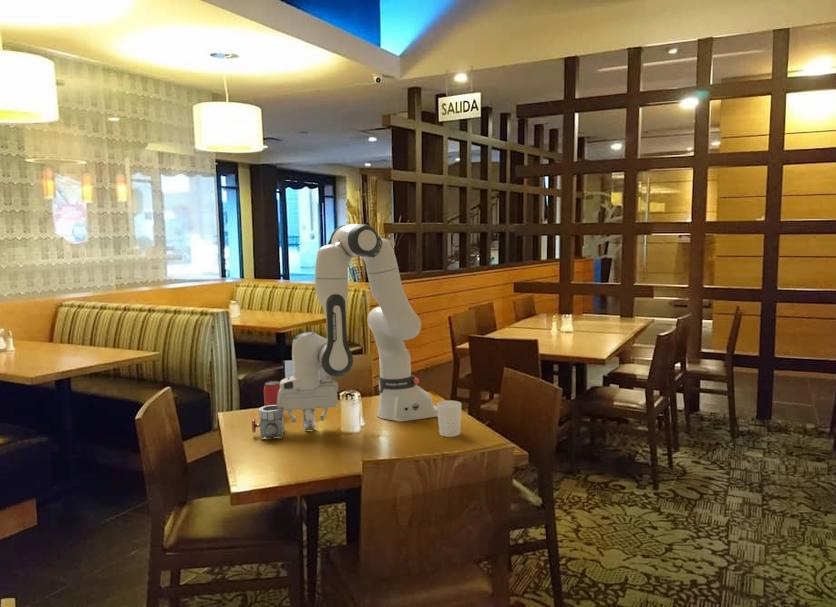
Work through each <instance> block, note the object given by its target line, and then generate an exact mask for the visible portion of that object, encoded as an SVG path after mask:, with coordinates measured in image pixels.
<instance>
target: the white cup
mask: <svg viewBox="0 0 836 607" xmlns="http://www.w3.org/2000/svg"><path fill="white" fill-rule="evenodd" d="M436 407H437V413H438V416H437V422H438V423H437V425H438V430H439V435H440V436H441V437H444V436H445V438H447V437H448V438H454V437H458V436H460V435H461V427H462V402H460V401H458V400H441V401H439V402H437V403H436Z"/></svg>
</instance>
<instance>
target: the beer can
mask: <svg viewBox="0 0 836 607" xmlns="http://www.w3.org/2000/svg"><path fill="white" fill-rule="evenodd" d="M280 382H281V381H278V380H270V381H267V382H265V383H264V386H263V401H264V402H263V403H264V406H268V405H277V397H278V392H279V389H280Z"/></svg>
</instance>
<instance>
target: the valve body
mask: <svg viewBox="0 0 836 607" xmlns="http://www.w3.org/2000/svg"><path fill="white" fill-rule="evenodd" d="M258 418H259V420H260V421H259V423H257V422H256V418H252V419H251V429H252V430H251V431H252V433H256V432H257V428H259V429H260V430H259V432H260V439H261V438H264V437H266V438H274V437H283V438H284V435H283V432H285V420H284V419H285V410H284V409H283V408H279V409H277V405H268V406H265V405H264V406H261V407H259V409H258Z"/></svg>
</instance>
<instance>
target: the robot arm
mask: <svg viewBox="0 0 836 607" xmlns="http://www.w3.org/2000/svg"><path fill="white" fill-rule="evenodd" d="M356 257H361V259H362V260H363V262H364V263H365V264H364V265H365V270H366V273H367V278H368V284H369V289H370V294H371V296H372V297H373V298H374V299H375V301H376V302H377V304H378V306H377V307H374V308H373V309H371V310H370V311H369V313H368V315H367V320H366V321H367V325H368V327H369V329H370V331H371V333H372V334H373V338H374V342H375V345H376V348H377V353H378V357H379V360H378V361H379V362H378V364H379V377H378V391H379V401H378V402H379V404H378V409H377V414H376V415H377V417H378V418H381V419H383V420H389V421H395V422H399V423H401V422H409V421H414V420H422V419H429V418H436V417H437V418H438V413H437V405H435V404H434V402H433V398H432V396H431V394H429V392H427V391H426V390H425V389H424V388H422V387H420V386H419V385H418V384H419V383H420V379H419V378H418V377H416V376H415V375H413V374H412V372H411V369H412V368H411V354H410V352H409V349H407V347H406V344H405V342H404V341H407V340H412V339H414V338H417V336H418V335H419V333H420V332H421V330H422V329H421V328H422V321H421V318H420V316H419V315H418V314H417V313H416V312H415V310H414V309H413V308H412V306H411V304H410V301H409V299H408V297H407V295H406V293H405V290H404V287H403V284H402V279H401V274H400V270H399V265H398V262H397V261H398V260H397V257H396V254H395V251H394V248H393V246H392V244H391V242H390V241H389V240H388V239H386V238H383V237H380V235H379V234H378V232H377V231H376V229H375V228H374V227H372V226H370V225H369V224H366V223H349V224H344V225H341V226H338V227H337V228H335V229H334V230H333V231H332V233H331V235H330V237H329V240H328V242H327V244H326V245H325V244H324V245H323V246H321V247H320V248H319V249H318V250H317V253H316V259H315V265H314V267H315V268H314V287H315V293H316V297H317V300H318V302H319V303H320V305H321V307H322V310H323V311H324V314H325V319H326V337H324V336H322V335H319V334H318V333H316V332H314V331H306V332H303V333H302V332H301V333H299V334H297V335H296V336H295V337H294V338H293V340H292V344H291V346H292V348H291V358H292V363H293V370H292V375H291V376H288V377H286V378H283V379H281V380H280V381H279V382H280V389H279V392H278V397H277V409H279V408H283V409H284V411H287V413H288V414H287V415H289V417H290V418H291V423H292V424H294V423H297V416H296V415H294V414H293V411H298V410H302V409H313V408H314V409H323V410H322V411H323V412H322V414H321V413H320V415H319V416H320V417H319V421H320V422H323V421H324V422H325V418H326V417H325V416H326V414H327V413H328V410H329V409H328V408H336V407H337V406H338V405H339V401H338V400H339V399H338V394H337V392H338V391H339V383H338V382H337V380H335V379H321V376H320V375H321V373H320V372H321V369H323V371H324V372H325V374H328V375H329V376H331V377H334V378H335V377H341V376H344V375H347V373H348V372H349V371H350V370H351V369H352V367H353V364H354V357H353V354H352V352H351V349H350V348H349V344H348V337H347V336H348V334H347V332H348V331H347V314H346V313H347V301H348V292H349V265H350V261H351V260H352V259H353V258H356Z"/></svg>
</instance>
